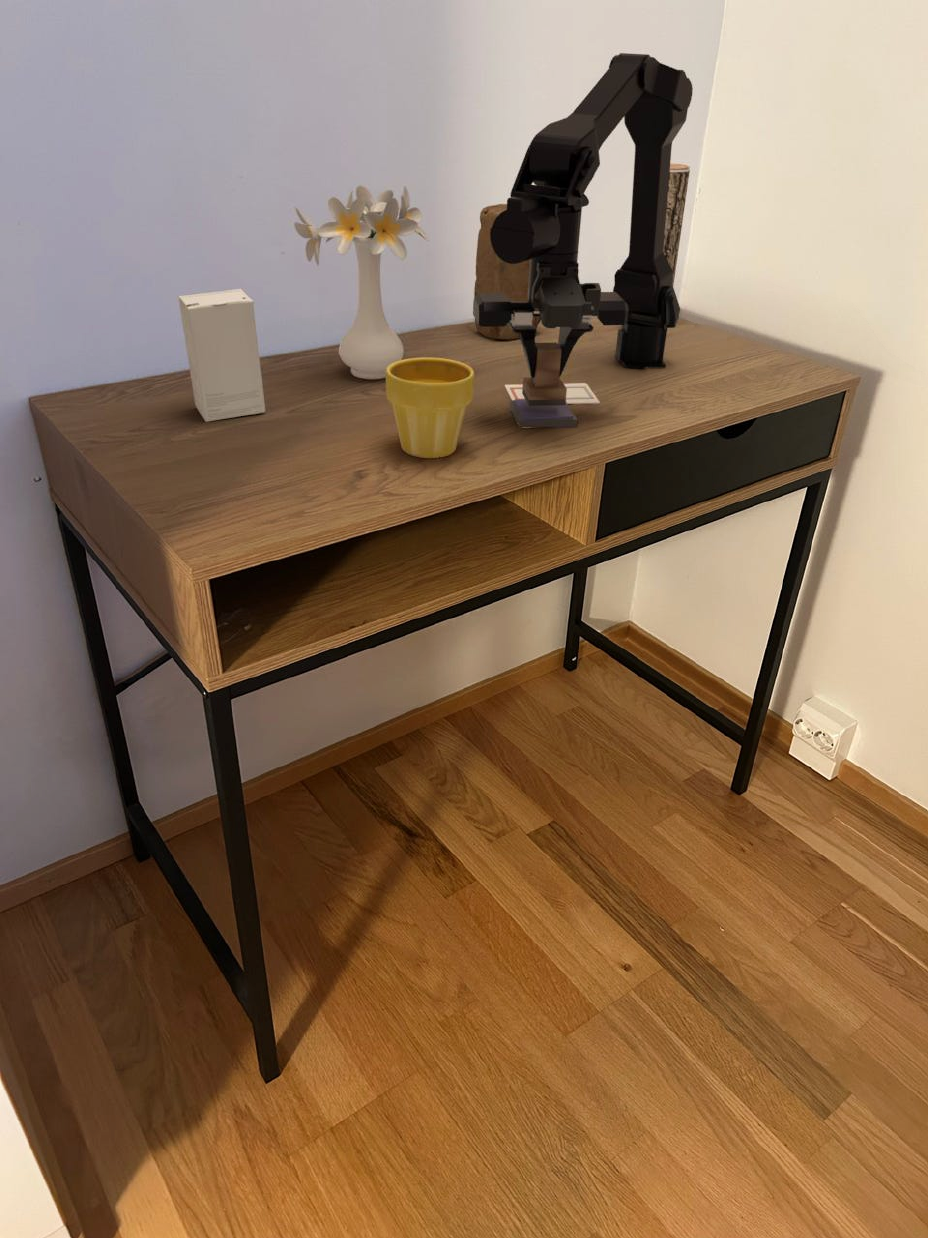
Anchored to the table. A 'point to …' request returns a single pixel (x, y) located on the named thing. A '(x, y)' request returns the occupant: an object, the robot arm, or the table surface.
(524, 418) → the inkpad
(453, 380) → the plant pot
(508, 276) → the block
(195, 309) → the skincare box
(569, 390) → the sheet
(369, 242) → the flower vase
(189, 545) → the table surface
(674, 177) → the bark patterned cylinder
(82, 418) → the table surface
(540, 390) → the stamp
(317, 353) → the table surface
